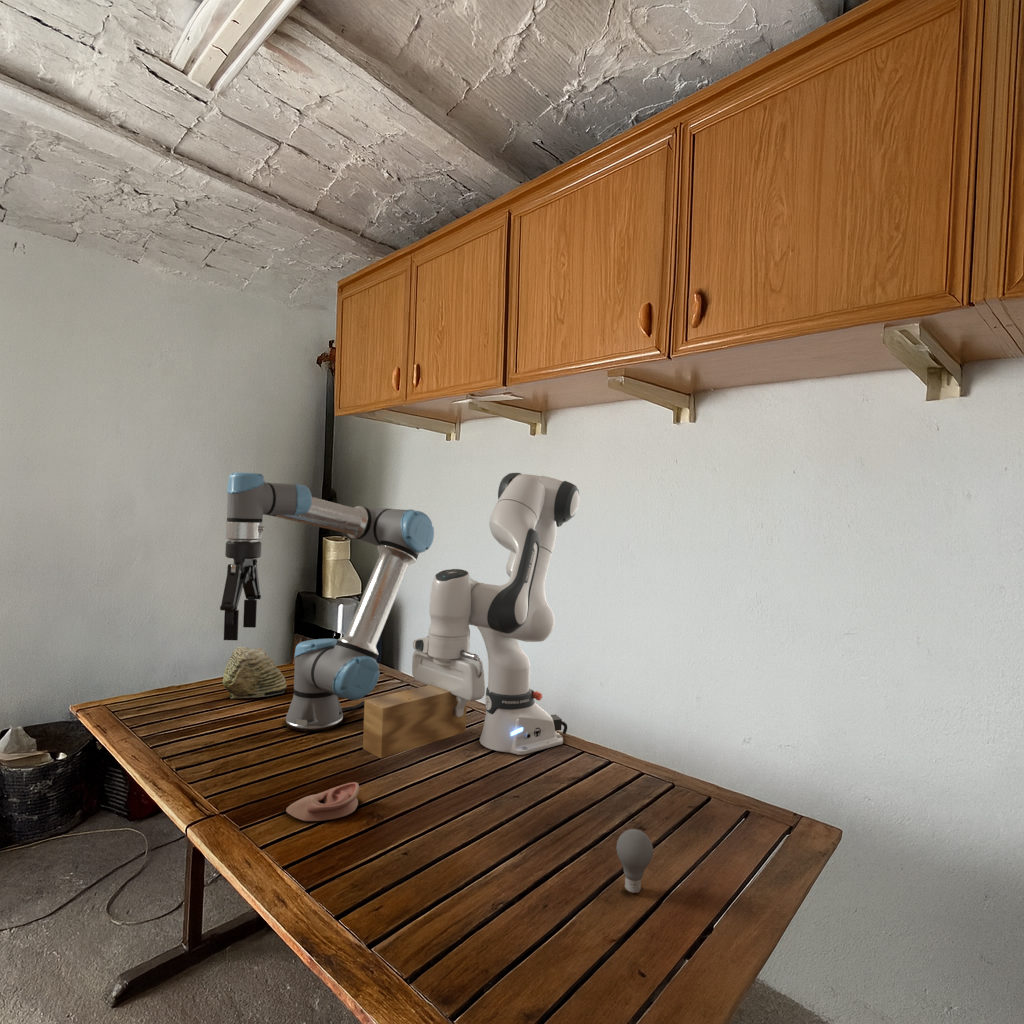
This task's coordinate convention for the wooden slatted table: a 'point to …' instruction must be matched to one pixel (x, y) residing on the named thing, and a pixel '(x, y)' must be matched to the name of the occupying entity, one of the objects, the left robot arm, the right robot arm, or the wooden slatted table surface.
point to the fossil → (252, 674)
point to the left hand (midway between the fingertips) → (240, 633)
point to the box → (410, 720)
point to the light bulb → (634, 857)
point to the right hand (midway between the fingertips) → (446, 710)
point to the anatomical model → (326, 804)
